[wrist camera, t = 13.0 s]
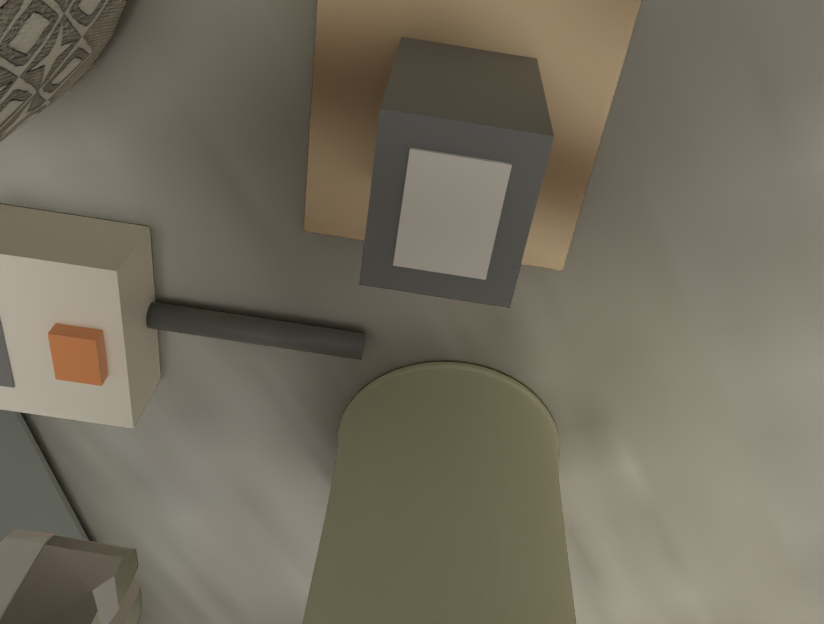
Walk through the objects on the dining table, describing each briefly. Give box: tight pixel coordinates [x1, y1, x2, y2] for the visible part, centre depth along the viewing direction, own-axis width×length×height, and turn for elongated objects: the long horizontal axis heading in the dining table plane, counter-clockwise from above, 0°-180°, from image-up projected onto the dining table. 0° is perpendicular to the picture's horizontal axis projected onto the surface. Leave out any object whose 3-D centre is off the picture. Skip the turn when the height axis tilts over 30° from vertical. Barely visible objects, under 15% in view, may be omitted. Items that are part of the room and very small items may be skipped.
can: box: [303, 362, 576, 624], centre depth 27 cm, size 9×9×12 cm
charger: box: [359, 37, 554, 308], centre depth 21 cm, size 5×4×6 cm
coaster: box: [304, 0, 642, 270], centre depth 24 cm, size 9×9×1 cm
